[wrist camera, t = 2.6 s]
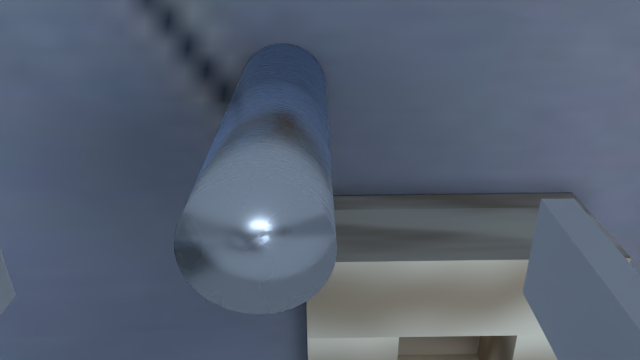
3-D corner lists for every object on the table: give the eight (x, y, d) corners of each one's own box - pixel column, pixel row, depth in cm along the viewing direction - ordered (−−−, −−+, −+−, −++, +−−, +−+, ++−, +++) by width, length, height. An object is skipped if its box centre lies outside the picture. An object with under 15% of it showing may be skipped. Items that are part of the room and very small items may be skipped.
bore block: (528, 384, 35) (567, 471, 30) (311, 388, 35) (310, 475, 29) (571, 192, 29) (631, 258, 23) (306, 196, 29) (305, 262, 23)
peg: (325, 124, 27) (336, 313, 14) (244, 125, 27) (184, 315, 14) (325, 43, 25) (337, 176, 12) (238, 44, 25) (163, 179, 12)
